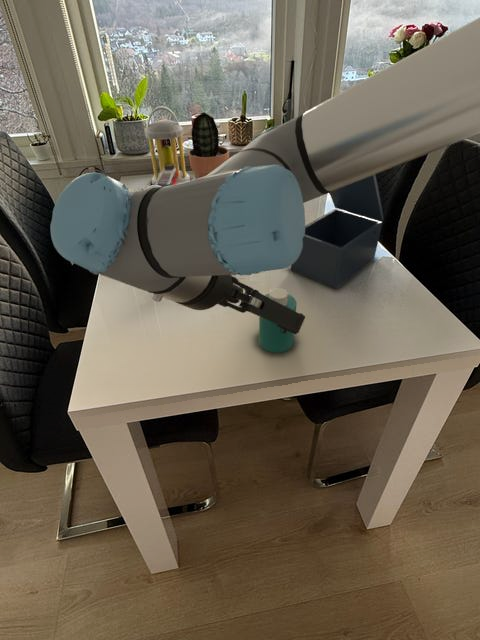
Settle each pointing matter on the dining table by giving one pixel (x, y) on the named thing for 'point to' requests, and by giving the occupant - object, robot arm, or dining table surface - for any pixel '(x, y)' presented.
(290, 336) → the detergent bottle
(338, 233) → the open box
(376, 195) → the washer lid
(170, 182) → the toy fire truck
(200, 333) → the dining table surface
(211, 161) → the potted plant
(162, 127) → the lantern
